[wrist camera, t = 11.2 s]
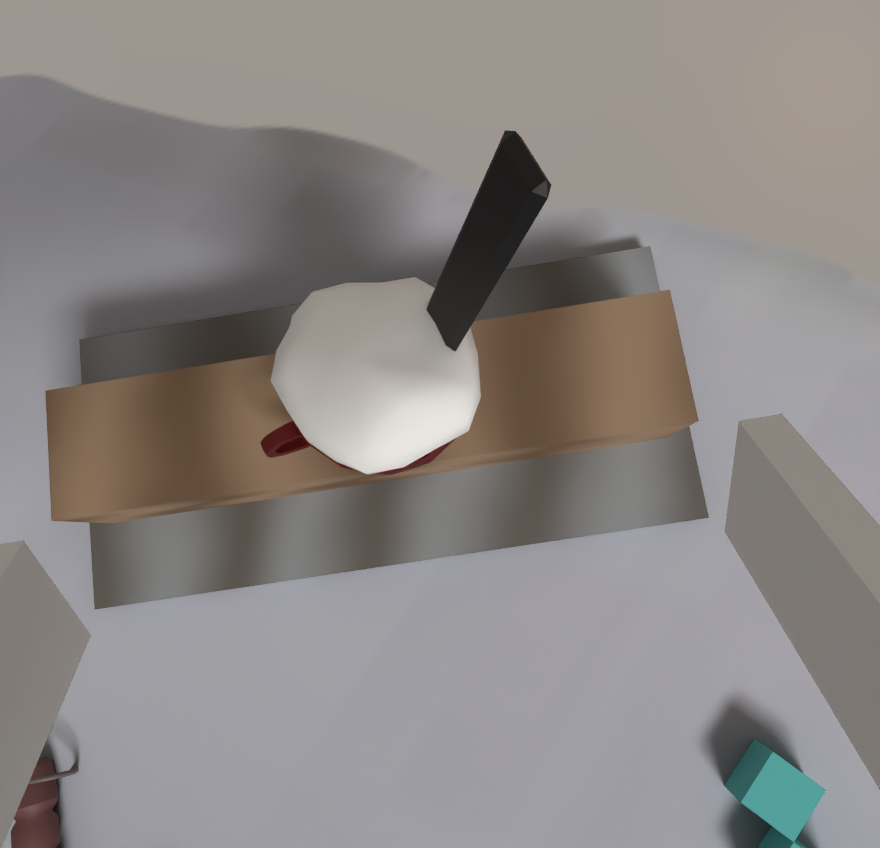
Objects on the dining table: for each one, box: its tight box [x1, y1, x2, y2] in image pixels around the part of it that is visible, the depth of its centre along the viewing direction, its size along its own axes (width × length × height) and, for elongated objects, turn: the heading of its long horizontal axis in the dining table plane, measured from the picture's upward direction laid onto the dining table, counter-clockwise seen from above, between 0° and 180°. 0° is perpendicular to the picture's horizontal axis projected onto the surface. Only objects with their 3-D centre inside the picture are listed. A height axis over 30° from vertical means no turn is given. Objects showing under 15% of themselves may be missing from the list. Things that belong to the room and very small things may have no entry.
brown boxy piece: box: [46, 246, 709, 609], centre depth 28 cm, size 26×12×5 cm, turn 99°
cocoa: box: [260, 131, 551, 475], centre depth 19 cm, size 10×6×12 cm, turn 97°
